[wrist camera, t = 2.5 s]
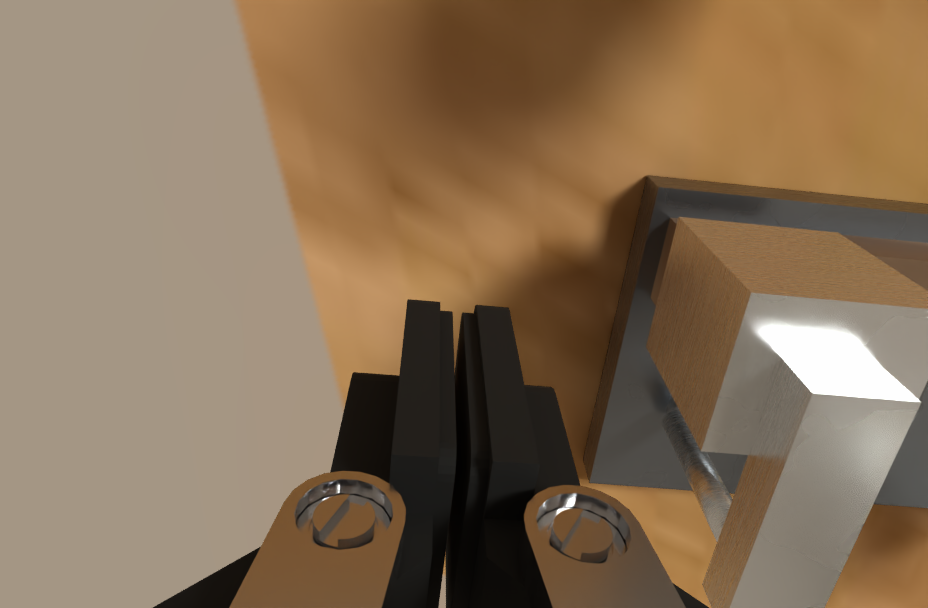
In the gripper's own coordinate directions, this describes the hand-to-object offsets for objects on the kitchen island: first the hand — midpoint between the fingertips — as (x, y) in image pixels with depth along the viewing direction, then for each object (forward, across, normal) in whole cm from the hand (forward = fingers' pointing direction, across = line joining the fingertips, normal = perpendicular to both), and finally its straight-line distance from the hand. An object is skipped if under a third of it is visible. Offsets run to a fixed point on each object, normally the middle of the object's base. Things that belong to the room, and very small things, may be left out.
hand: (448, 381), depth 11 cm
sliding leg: (+7, -7, +2) cm, 11 cm away
